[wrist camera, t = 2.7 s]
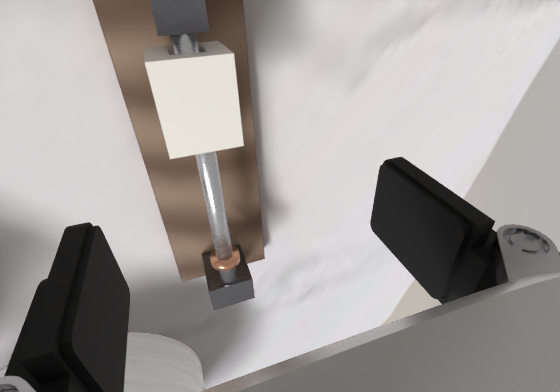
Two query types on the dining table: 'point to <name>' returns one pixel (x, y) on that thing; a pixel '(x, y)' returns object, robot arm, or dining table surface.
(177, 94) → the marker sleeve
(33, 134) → the dining table surface
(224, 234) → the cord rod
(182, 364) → the plate stack
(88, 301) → the robot arm
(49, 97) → the dining table surface
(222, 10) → the base board
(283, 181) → the dining table surface
